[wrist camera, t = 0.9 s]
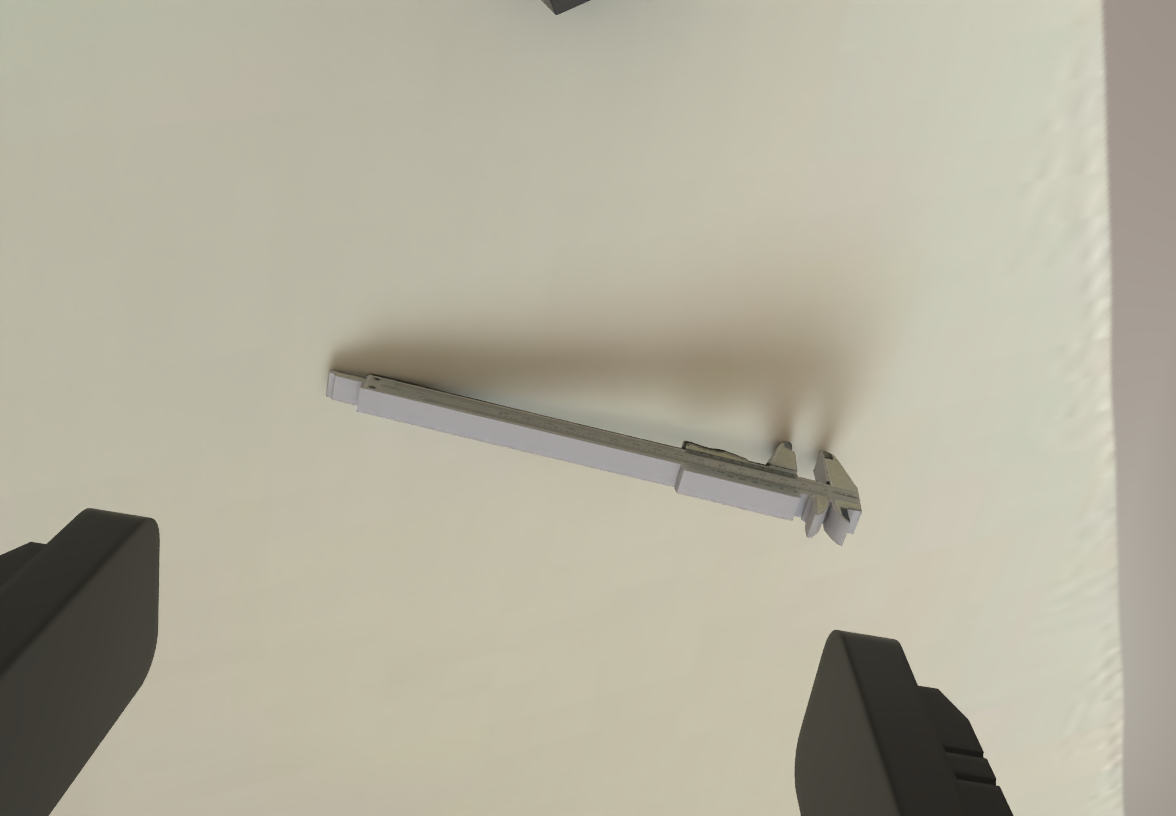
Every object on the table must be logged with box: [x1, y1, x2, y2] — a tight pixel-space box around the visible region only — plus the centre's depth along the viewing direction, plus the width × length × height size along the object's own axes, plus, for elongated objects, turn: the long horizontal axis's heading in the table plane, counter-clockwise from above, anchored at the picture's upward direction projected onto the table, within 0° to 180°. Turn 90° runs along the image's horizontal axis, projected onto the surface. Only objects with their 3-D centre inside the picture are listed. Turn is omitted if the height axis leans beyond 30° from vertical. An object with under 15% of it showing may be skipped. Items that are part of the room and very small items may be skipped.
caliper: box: [326, 371, 862, 546], centre depth 40 cm, size 20×1×6 cm, turn 77°
